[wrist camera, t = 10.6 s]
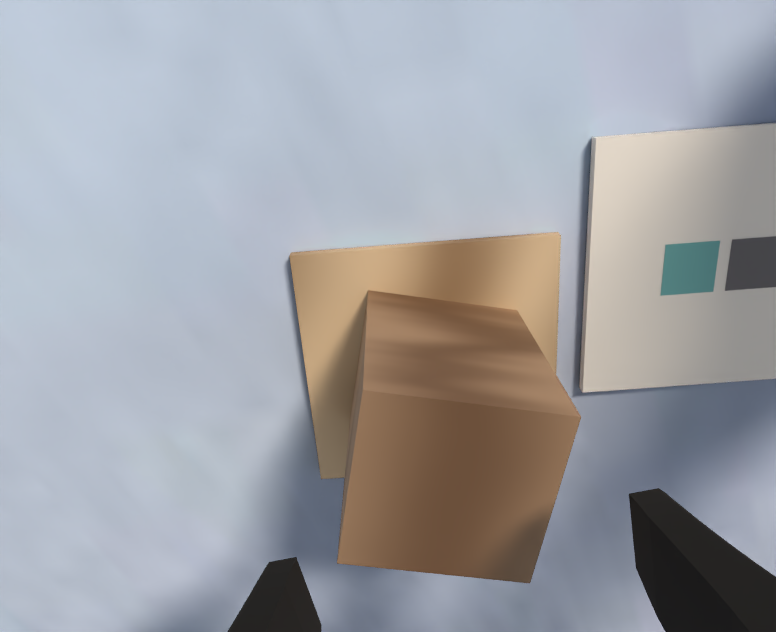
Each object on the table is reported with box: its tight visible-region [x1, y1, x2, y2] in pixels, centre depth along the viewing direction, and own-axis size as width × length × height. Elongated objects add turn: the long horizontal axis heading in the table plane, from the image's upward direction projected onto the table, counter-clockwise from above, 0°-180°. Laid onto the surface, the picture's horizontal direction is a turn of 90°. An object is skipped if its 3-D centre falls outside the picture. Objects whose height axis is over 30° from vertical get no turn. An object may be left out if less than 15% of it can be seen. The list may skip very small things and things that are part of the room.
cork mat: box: [290, 232, 561, 479], centre depth 21 cm, size 9×9×1 cm
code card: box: [579, 123, 776, 393], centre depth 20 cm, size 9×9×1 cm
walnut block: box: [337, 290, 581, 583], centre depth 18 cm, size 5×5×7 cm
